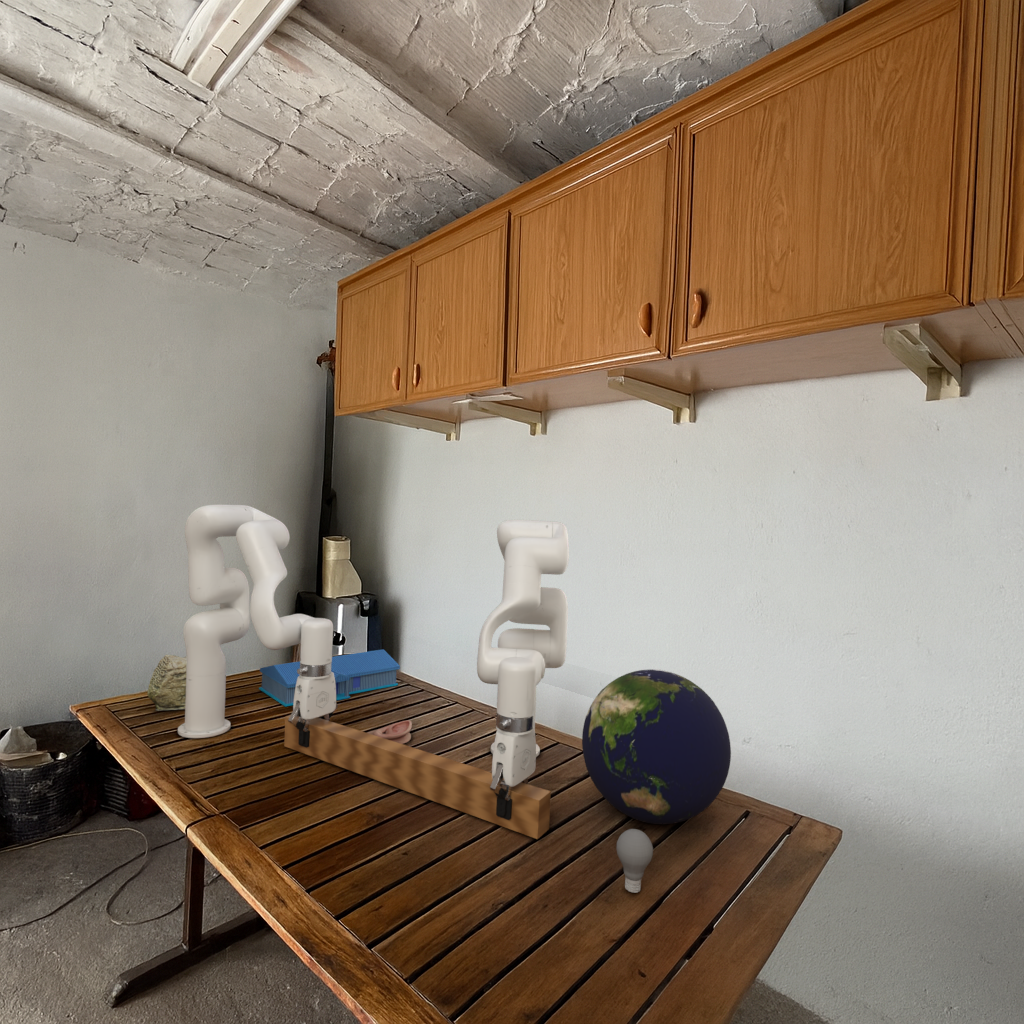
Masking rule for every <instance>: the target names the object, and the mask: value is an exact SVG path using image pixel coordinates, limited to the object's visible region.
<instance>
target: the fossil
mask: <svg viewBox="0 0 1024 1024" xmlns="http://www.w3.org/2000/svg"><path fill="white" fill-rule="evenodd" d="M186 666H187V658H186V656H183V657H182V656H178V655H175V654H174V655H173V654H165V655H164V656H163V657H162V658H161V659H160V660H159V662H158V663H157V666H156V667H155V669H154V670H153V672H152V675H151V677H150V680H149V684H148V688H147V697H148V699H149V700H150V701H152V703H153V704H154V706H155V711H158V712H159V711H162V712H163V711H177V710H185V701H186Z"/></svg>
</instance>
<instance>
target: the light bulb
mask: <svg viewBox="0 0 1024 1024" xmlns="http://www.w3.org/2000/svg"><path fill="white" fill-rule="evenodd" d="M615 849H616V854H617V857H618V859H619V861H620V863H621V865H622V867H623V873H624V874H623V875H624V876H625V878H624V888H625V890H627V891H628V892H630V893H634V894H635V893H639V892H640V891H641V889H642V887H641V886H642V879H643V877H644V875H645V871H646V868H647V867H648V866H649V864H650V863H651V861H652V859H653V855H654V847H653V843H652V841H651V838H649V836H648V835H647V834H646V833H645V832H643V831H642V830H641V829H636V828H629V829H627V830H625V831H623V832H622V833H621V834H620V835H619V837H618V839H617V841H616V847H615Z"/></svg>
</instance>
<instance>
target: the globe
mask: <svg viewBox="0 0 1024 1024" xmlns="http://www.w3.org/2000/svg"><path fill="white" fill-rule="evenodd" d="M581 748H582V756H583V759H584V764H585V767H586V770H587V772H588V775H589V777H590V779H591V781H592V784H593V785H594V786H595V788H596V789H597V791H598V793H600V795H601V796H602V797H603V798H604V799H605V800H606V801H607V802H608V803H609V805H611V806H612V807H613V808H614V809H616V810H618V812H620V813H622V814H623V815H625V816H627V817H629V818H632V819H634V820H636V821H639V822H643V823H646V824H652V825H672V824H673V825H674V824H678V823H682V822H685V821H688V820H690V819H692V818H694V817H697V816H698V815H699V814H700V813H702V812H704V811H705V810H706V809H707V808H708V807H709V806H710V805H712V803H713V802H714V801H715V800H716V799H717V798H718V796H719V795H720V793H721V791H722V789H723V788H724V786H725V783H726V780H727V778H728V776H729V771H730V767H731V760H732V759H731V758H732V750H731V749H732V747H731V738H730V734H729V731H728V727H727V724H726V721H725V719H724V717H723V715H722V712H721V711H720V709H719V708H718V706H717V704H716V703H715V701H714V700H713V699H712V697H710V696H709V694H708V693H707V692H705V690H704V689H702V688H701V687H700V686H698V685H697V684H696V683H694V682H693V681H692V680H690V679H688V678H686V677H684V676H683V675H680V674H677V673H674V672H672V671H668V670H667V671H666V670H663V669H654V668H653V669H640V670H635V671H630V672H627V673H625V674H623V675H621V676H618V677H617V678H615V679H613V680H612V681H611V682H609V683H608V684H606V685H605V686H604V687H603V688H602V689H601V690H600V691H599V693H598V694H597V695H596V696H595V698H594V699H593V701H592V702H591V704H590V706H589V708H588V710H587V713H586V715H585V719H584V722H583V728H582V737H581Z"/></svg>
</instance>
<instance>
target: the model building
mask: <svg viewBox="0 0 1024 1024" xmlns="http://www.w3.org/2000/svg"><path fill="white" fill-rule="evenodd" d="M297 669H300V660H299V661H293V662H287V663H278V664H272V665H268V666H264V667H263V666H262V667H260V668H259V672H260V673H261V686H260V687H258V690H260V691H261V692H262V693H264V694H265V695H267V696H268V697H270V698H271V699H273V700H274V701H276V702H277V703H279V704H280V705H282V706H283V707H290V706H292V707H293V703H294V694H295V687H296V682H297V678H298V676H299V675H300V674H298V673H297ZM400 669H401V665H400V664H399V663H398V662H397V661H396V660H395V659H394V658H393V657H392V656H391V654H389V653H388V652H387V651H386V650H385V649H376V650H368V651H363V652H356V653H349V654H342V655H341V654H340V655H335V656H332V668H331V672H333V673H334V677H335V684H336V702H337V701H341V700H346V699H347V700H348V699H350V698H351V695H353V694H359V693H364V692H365V693H366V692H369V691H373V690H381V689H385V688H390V687H391V688H392V687H395V686H399V683H398V682H397V670H400Z"/></svg>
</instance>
